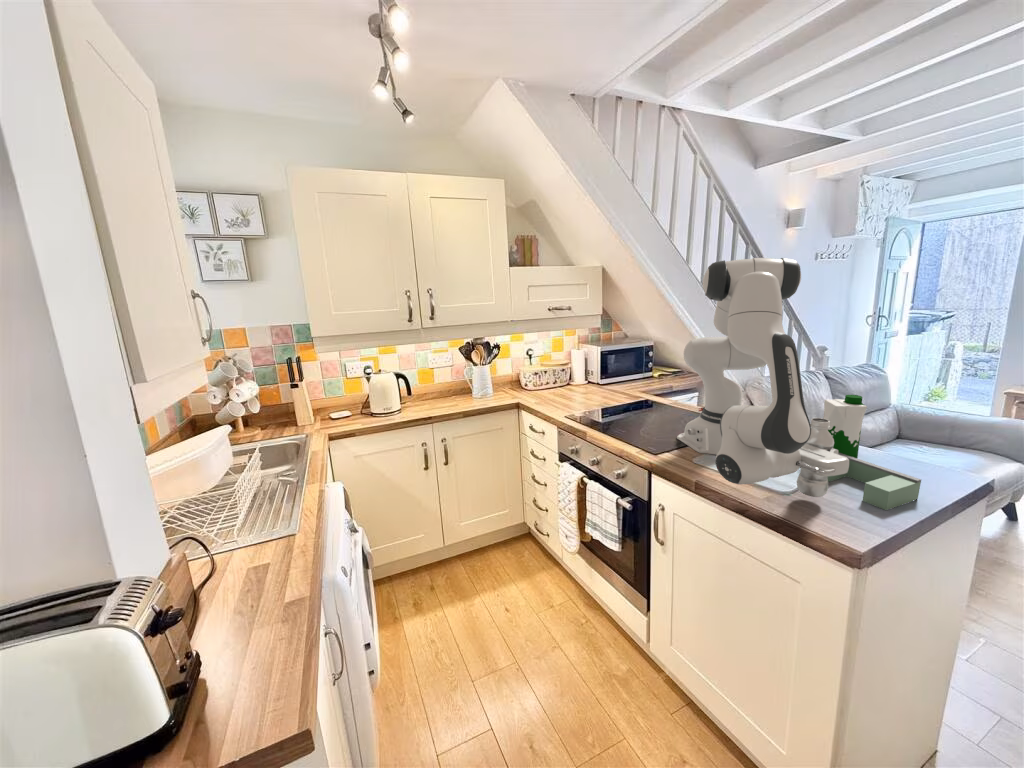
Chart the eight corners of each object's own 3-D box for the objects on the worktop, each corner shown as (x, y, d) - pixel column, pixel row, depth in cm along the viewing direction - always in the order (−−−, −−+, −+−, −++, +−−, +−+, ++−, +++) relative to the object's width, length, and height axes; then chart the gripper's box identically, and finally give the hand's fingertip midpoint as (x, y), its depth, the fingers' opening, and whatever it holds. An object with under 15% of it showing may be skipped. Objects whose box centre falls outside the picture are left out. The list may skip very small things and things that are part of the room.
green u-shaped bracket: (803, 476, 114) (805, 458, 112) (832, 468, 117) (834, 451, 116) (885, 510, 95) (889, 489, 94) (917, 499, 99) (921, 479, 97)
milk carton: (862, 463, 119) (871, 400, 115) (827, 461, 122) (835, 399, 117) (847, 451, 128) (855, 392, 123) (814, 450, 130) (821, 392, 126)
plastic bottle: (792, 494, 101) (801, 421, 96) (799, 485, 105) (807, 414, 101) (824, 503, 96) (834, 426, 92) (829, 493, 100) (839, 419, 96)
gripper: (825, 460, 84) (869, 449, 88) (743, 431, 103) (782, 423, 107) (822, 487, 85) (865, 475, 89) (741, 453, 104) (780, 444, 108)
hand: (819, 446), depth 98 cm, fingers closed on plastic bottle, 6 cm apart
